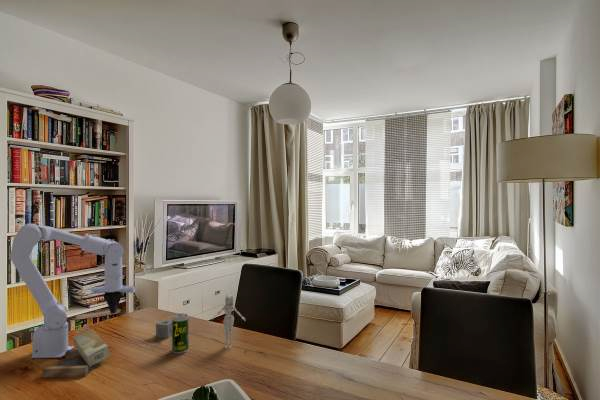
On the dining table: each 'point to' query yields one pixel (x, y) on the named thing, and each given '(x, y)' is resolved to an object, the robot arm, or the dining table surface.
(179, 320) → the beer can
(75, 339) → the skincare box
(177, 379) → the dining table surface
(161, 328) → the dice cube
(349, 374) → the dining table surface
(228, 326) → the human figurine
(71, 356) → the u rest
